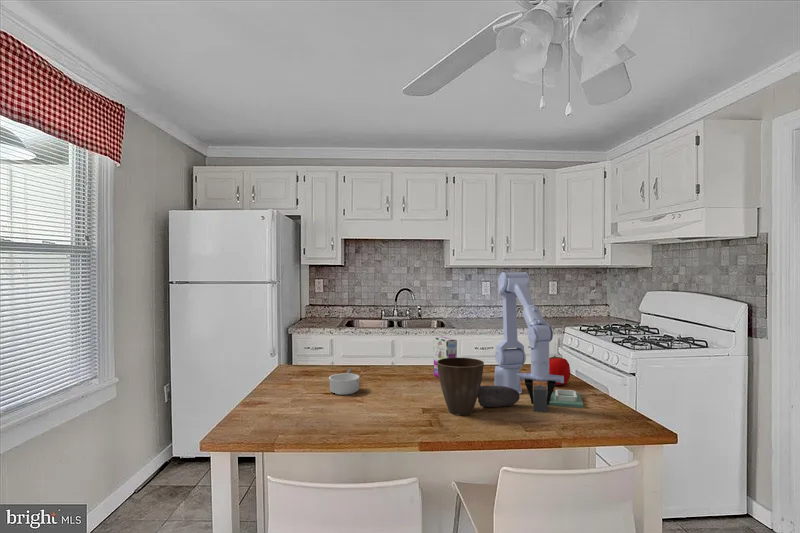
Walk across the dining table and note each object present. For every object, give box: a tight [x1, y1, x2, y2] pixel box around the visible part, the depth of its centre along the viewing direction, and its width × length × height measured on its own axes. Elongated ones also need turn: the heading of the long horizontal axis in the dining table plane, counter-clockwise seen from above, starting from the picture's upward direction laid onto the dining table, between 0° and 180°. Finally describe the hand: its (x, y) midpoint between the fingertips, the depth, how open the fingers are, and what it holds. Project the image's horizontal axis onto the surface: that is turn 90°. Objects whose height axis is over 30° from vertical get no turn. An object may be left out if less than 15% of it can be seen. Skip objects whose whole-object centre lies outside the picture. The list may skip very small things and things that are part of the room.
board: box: [532, 388, 584, 409], centre depth 166 cm, size 16×14×2 cm
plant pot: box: [437, 357, 485, 416], centre depth 154 cm, size 15×15×16 cm
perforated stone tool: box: [477, 385, 521, 408], centre depth 160 cm, size 15×5×7 cm, turn 96°
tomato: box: [549, 355, 571, 386], centre depth 187 cm, size 12×12×11 cm
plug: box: [533, 384, 548, 413], centre depth 157 cm, size 4×6×7 cm, turn 164°
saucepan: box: [328, 367, 361, 396], centre depth 183 cm, size 12×20×6 cm, turn 177°
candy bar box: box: [433, 336, 458, 378], centre depth 198 cm, size 11×5×16 cm, turn 25°
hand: (540, 403), depth 156 cm, fingers open, 4 cm apart
